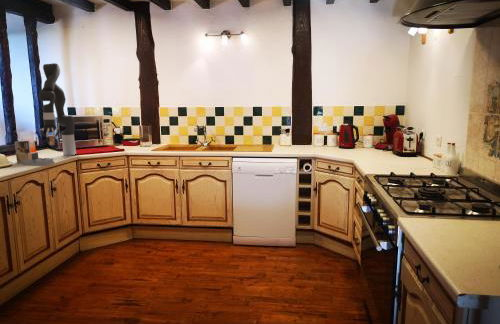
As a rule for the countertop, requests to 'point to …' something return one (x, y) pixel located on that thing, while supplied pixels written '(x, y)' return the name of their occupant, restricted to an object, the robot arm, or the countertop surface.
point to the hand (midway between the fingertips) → (51, 141)
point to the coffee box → (22, 150)
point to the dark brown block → (51, 140)
